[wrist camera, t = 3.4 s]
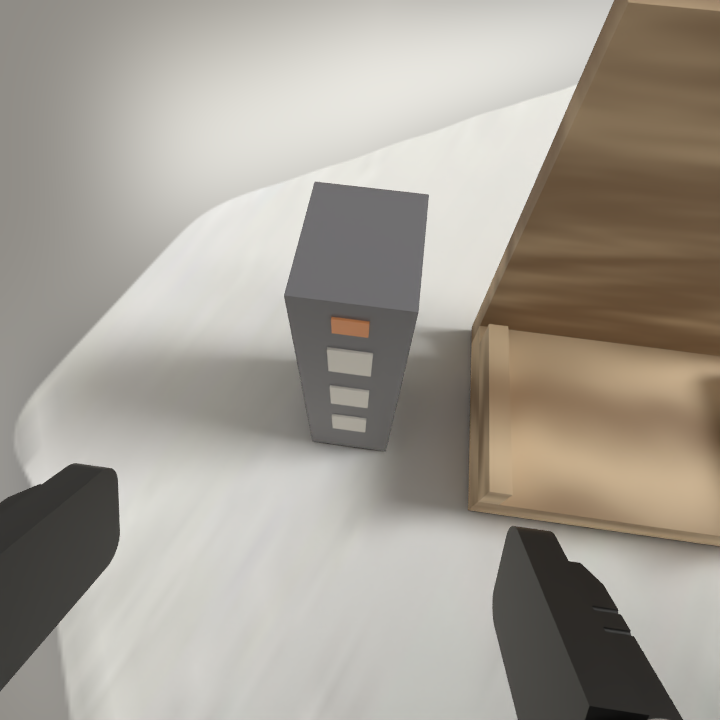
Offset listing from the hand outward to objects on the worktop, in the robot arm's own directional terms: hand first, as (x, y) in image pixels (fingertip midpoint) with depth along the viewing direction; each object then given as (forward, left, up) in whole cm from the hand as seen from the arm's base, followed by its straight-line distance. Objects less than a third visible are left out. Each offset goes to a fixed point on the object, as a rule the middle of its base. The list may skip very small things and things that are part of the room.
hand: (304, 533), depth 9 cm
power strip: (-4, -8, -14) cm, 17 cm away
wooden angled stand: (-17, -2, -14) cm, 22 cm away
